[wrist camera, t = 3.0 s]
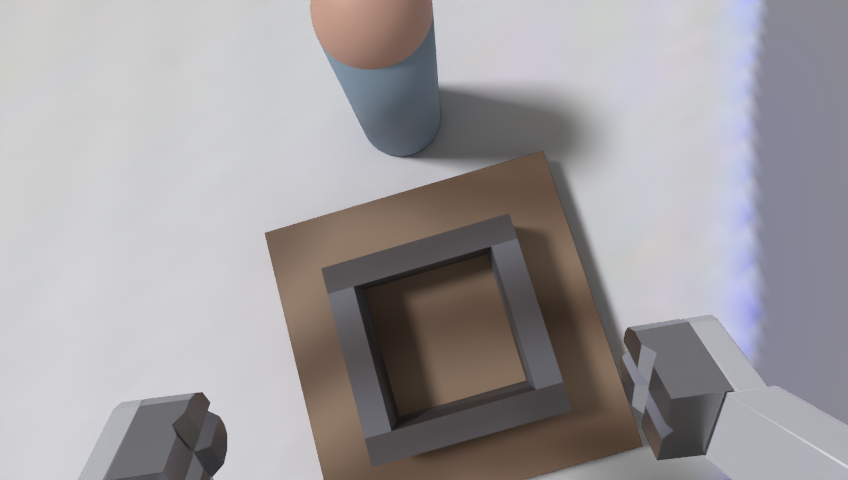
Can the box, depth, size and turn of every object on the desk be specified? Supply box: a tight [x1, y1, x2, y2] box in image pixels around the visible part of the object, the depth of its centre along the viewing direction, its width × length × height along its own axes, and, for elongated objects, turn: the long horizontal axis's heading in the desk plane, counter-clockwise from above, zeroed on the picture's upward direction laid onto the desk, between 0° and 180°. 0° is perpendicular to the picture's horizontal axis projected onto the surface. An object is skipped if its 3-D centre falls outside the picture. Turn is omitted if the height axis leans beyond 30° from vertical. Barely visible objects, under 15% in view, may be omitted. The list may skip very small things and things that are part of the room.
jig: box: [265, 151, 643, 480], centre depth 24 cm, size 15×15×4 cm
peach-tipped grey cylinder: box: [310, 0, 441, 156], centre depth 22 cm, size 4×4×12 cm
